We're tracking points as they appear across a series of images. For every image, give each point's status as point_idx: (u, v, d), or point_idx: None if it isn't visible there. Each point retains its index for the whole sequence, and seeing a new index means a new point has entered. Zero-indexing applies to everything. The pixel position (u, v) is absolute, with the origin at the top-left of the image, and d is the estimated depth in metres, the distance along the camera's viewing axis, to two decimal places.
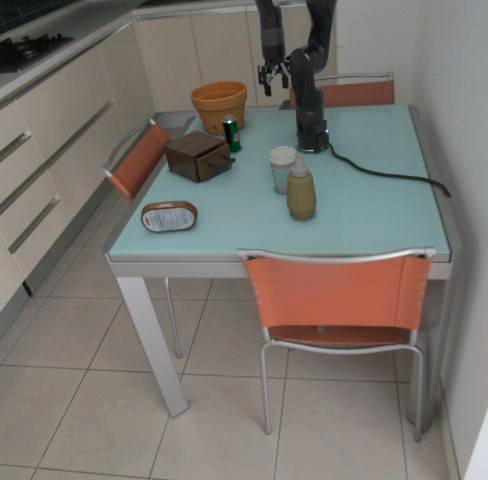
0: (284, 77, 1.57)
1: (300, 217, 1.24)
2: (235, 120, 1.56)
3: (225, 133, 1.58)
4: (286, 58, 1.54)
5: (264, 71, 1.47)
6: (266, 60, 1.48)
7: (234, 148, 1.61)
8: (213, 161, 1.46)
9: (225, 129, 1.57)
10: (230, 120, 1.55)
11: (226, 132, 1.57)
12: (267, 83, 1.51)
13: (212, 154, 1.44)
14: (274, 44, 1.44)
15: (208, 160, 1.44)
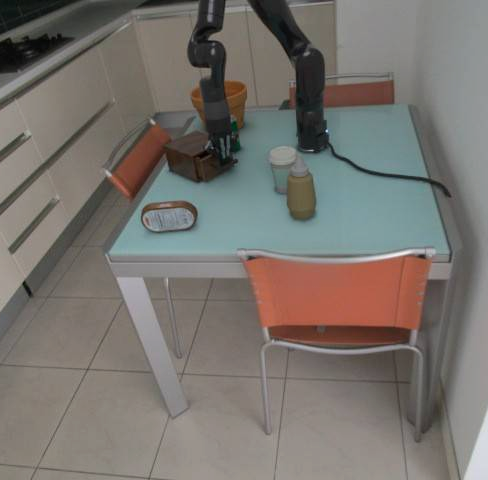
0: None
1: (300, 217, 1.24)
2: (235, 120, 1.56)
3: None
4: (233, 134, 1.41)
5: (211, 150, 1.36)
6: (209, 134, 1.35)
7: (234, 148, 1.61)
8: (216, 162, 1.45)
9: None
10: None
11: None
12: (222, 156, 1.40)
13: None
14: (217, 118, 1.31)
15: (211, 161, 1.43)
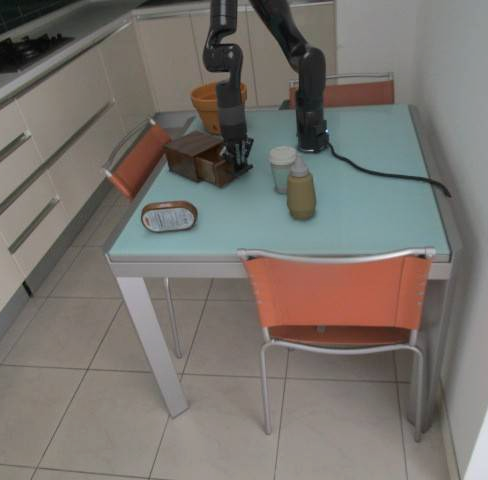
0: None
1: (300, 217, 1.24)
2: None
3: None
4: (248, 139, 1.37)
5: (227, 156, 1.32)
6: (225, 139, 1.31)
7: None
8: (230, 168, 1.41)
9: None
10: None
11: None
12: (237, 162, 1.37)
13: None
14: (232, 124, 1.27)
15: (225, 166, 1.39)
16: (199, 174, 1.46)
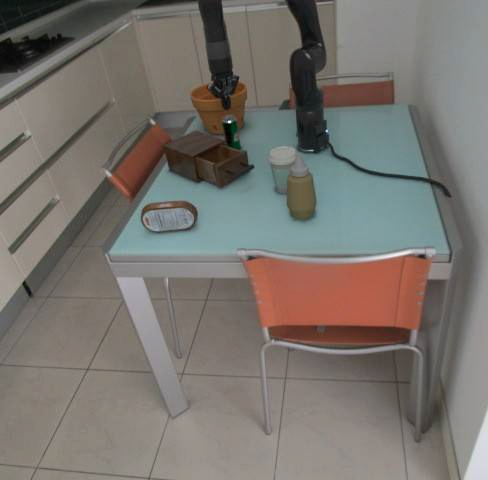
0: None
1: (300, 218, 1.24)
2: (235, 120, 1.56)
3: (225, 133, 1.58)
4: (234, 76, 1.51)
5: (214, 90, 1.46)
6: (212, 74, 1.45)
7: (234, 148, 1.61)
8: (231, 168, 1.41)
9: (225, 129, 1.57)
10: (230, 120, 1.55)
11: (226, 132, 1.57)
12: (224, 97, 1.50)
13: (230, 161, 1.39)
14: (219, 58, 1.41)
15: (226, 167, 1.39)
16: (200, 174, 1.46)
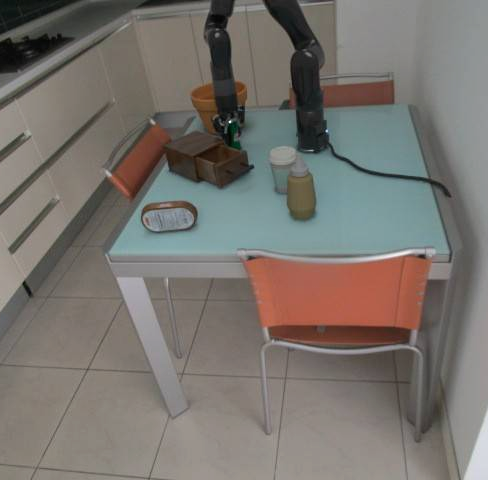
0: None
1: (300, 218, 1.24)
2: (235, 120, 1.56)
3: None
4: (240, 107, 1.58)
5: (218, 122, 1.52)
6: (218, 109, 1.52)
7: (234, 148, 1.61)
8: (231, 168, 1.41)
9: None
10: (230, 120, 1.55)
11: None
12: (224, 131, 1.56)
13: (230, 161, 1.39)
14: (225, 95, 1.48)
15: (226, 167, 1.39)
16: (200, 174, 1.46)
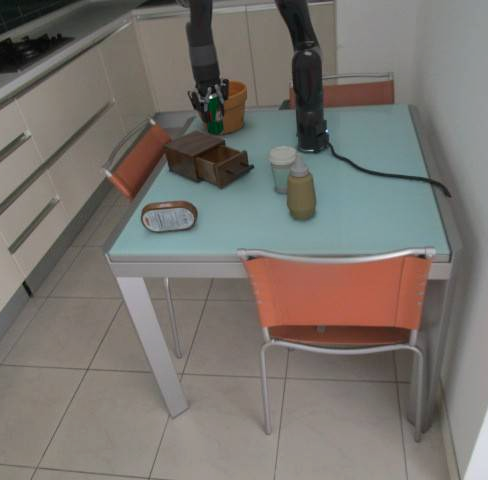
0: None
1: (300, 218, 1.24)
2: (217, 96, 1.33)
3: None
4: (223, 81, 1.35)
5: (195, 97, 1.29)
6: (197, 82, 1.29)
7: (216, 129, 1.38)
8: (231, 168, 1.41)
9: None
10: (211, 95, 1.32)
11: None
12: (203, 109, 1.33)
13: (230, 161, 1.39)
14: (204, 64, 1.25)
15: (226, 167, 1.39)
16: (200, 174, 1.46)
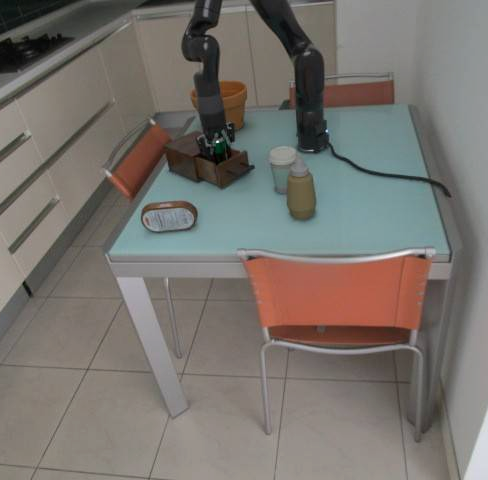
0: None
1: (300, 218, 1.24)
2: (223, 140, 1.39)
3: None
4: (229, 125, 1.41)
5: (203, 142, 1.35)
6: (204, 128, 1.35)
7: None
8: (232, 168, 1.41)
9: None
10: (217, 140, 1.38)
11: None
12: (210, 153, 1.39)
13: (231, 161, 1.39)
14: (211, 113, 1.31)
15: (226, 167, 1.39)
16: (200, 175, 1.46)
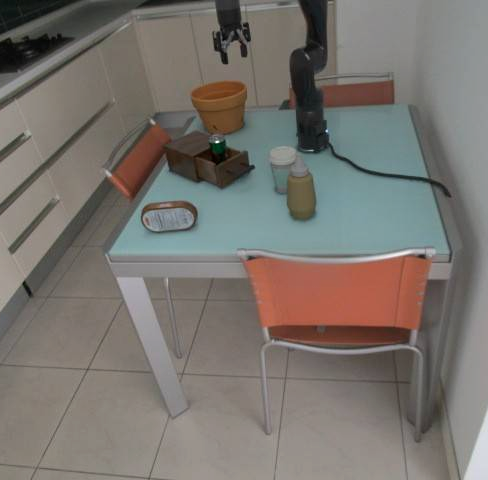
0: (242, 45, 1.53)
1: (300, 218, 1.24)
2: (223, 140, 1.39)
3: (212, 154, 1.41)
4: (243, 25, 1.50)
5: (219, 37, 1.43)
6: (221, 26, 1.44)
7: None
8: (232, 168, 1.41)
9: (212, 150, 1.40)
10: (218, 140, 1.38)
11: (213, 153, 1.40)
12: (223, 50, 1.46)
13: (231, 161, 1.39)
14: (228, 8, 1.40)
15: (227, 167, 1.39)
16: (201, 175, 1.46)
